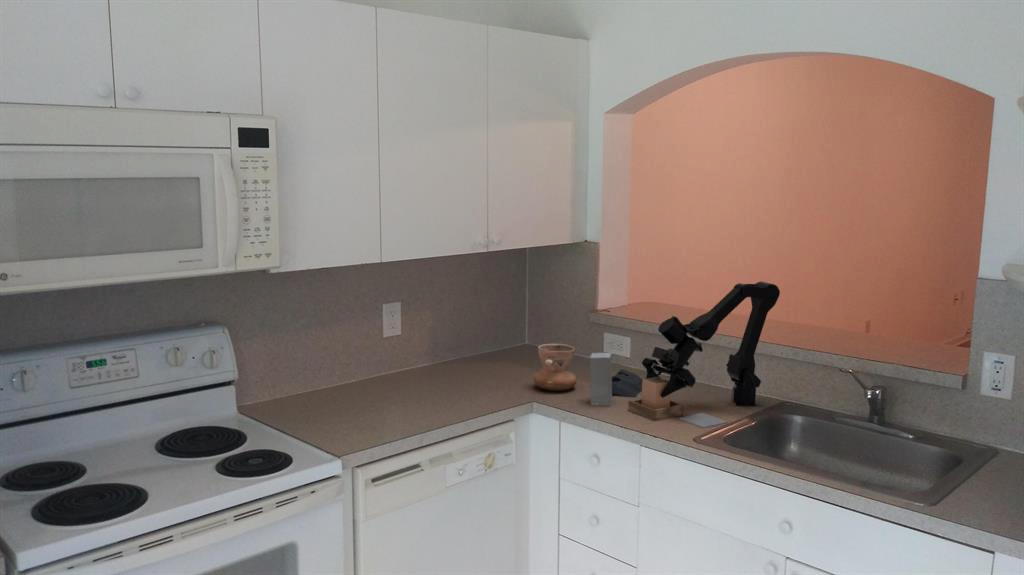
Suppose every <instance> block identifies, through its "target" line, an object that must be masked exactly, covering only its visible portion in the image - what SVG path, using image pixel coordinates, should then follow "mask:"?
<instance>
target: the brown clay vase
mask: <svg viewBox="0 0 1024 575" xmlns="http://www.w3.org/2000/svg"><path fill="white" fill-rule="evenodd" d="M575 351H576V350H575V348H574V346H571V345H569V344H564V343H546V344H545V343H544V344H541V345H538V346H537V352H538V357H539V360H540V363H541V366H542V368H541V369H540V370H538V371H537V372H536V373H535V374H534V376H533V382H534V384H535V386H537V387H538V388H540V389H543V390H546V391H551V392H560V391H561V392H562V391H568V390H570V389H572V388H573V387H575V386H576V385H577V381H578V380H577V376H576V375H575V374H574V373H573V372H572V371H570V370H569V366H570V365H571V363H572V361H573V358H574V355H575Z"/></svg>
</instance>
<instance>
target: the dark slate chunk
mask: <svg viewBox="0 0 1024 575" xmlns="http://www.w3.org/2000/svg"><path fill="white" fill-rule="evenodd" d="M643 379H644V378H643ZM643 379H642V378H641V377H640V376H639V375H638V374H637V373H634V372H631V371H628V370H626V369H620V370H619V371H617V373H616V374H615V375H612V396H615V395H616V397H617V396H618V397H624V398H637V397H638V394H640V393H642V380H643Z"/></svg>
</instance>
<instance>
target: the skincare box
mask: <svg viewBox="0 0 1024 575" xmlns="http://www.w3.org/2000/svg"><path fill="white" fill-rule="evenodd" d="M612 355H613V354H612V353H611V352H592V353H591V354H590V356H589V389H590V395H589V396H590V405H591V406H597V407H598V406H601V407H611V406H612V402H613V395H612V377H613V374H612V372H613V371H612V370H613V369H612V368H613V367H612V366H613V365H612V364H613V363H612Z"/></svg>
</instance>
